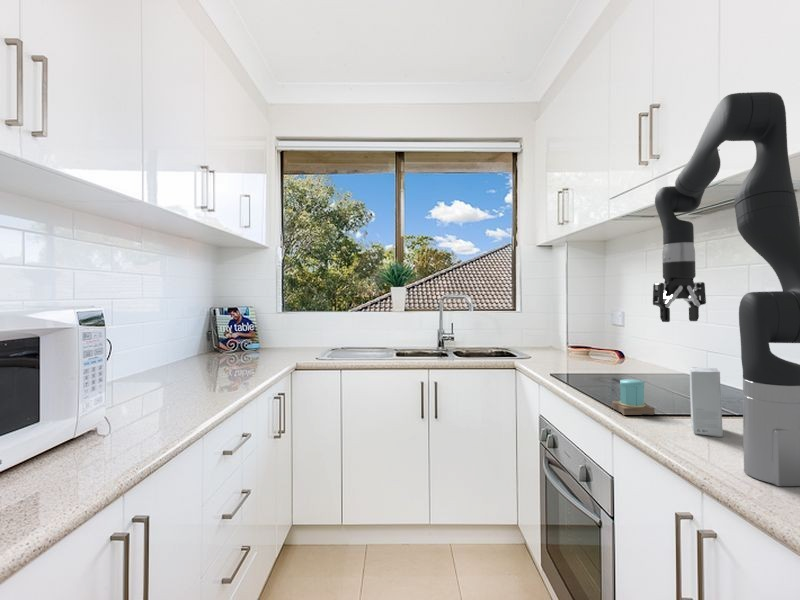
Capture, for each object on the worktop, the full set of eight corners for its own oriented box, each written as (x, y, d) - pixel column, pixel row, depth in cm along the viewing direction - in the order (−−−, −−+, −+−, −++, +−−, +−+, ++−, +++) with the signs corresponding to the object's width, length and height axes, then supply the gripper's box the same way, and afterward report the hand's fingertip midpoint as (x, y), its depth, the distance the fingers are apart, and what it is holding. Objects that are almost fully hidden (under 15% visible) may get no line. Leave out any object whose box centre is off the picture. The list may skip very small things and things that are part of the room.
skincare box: (723, 437, 105) (722, 372, 105) (691, 434, 108) (690, 370, 108) (719, 428, 112) (718, 366, 112) (689, 425, 115) (689, 365, 115)
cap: (633, 399, 132) (632, 378, 132) (649, 404, 126) (649, 382, 126) (615, 401, 130) (615, 380, 130) (631, 406, 125) (631, 384, 124)
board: (654, 415, 124) (654, 393, 124) (624, 415, 124) (623, 393, 124) (640, 408, 132) (640, 387, 132) (611, 408, 132) (611, 387, 132)
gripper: (665, 259, 119) (667, 323, 119) (713, 259, 121) (714, 321, 121) (645, 262, 126) (646, 321, 126) (690, 262, 129) (691, 320, 129)
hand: (679, 321), depth 124 cm, fingers open, 8 cm apart
